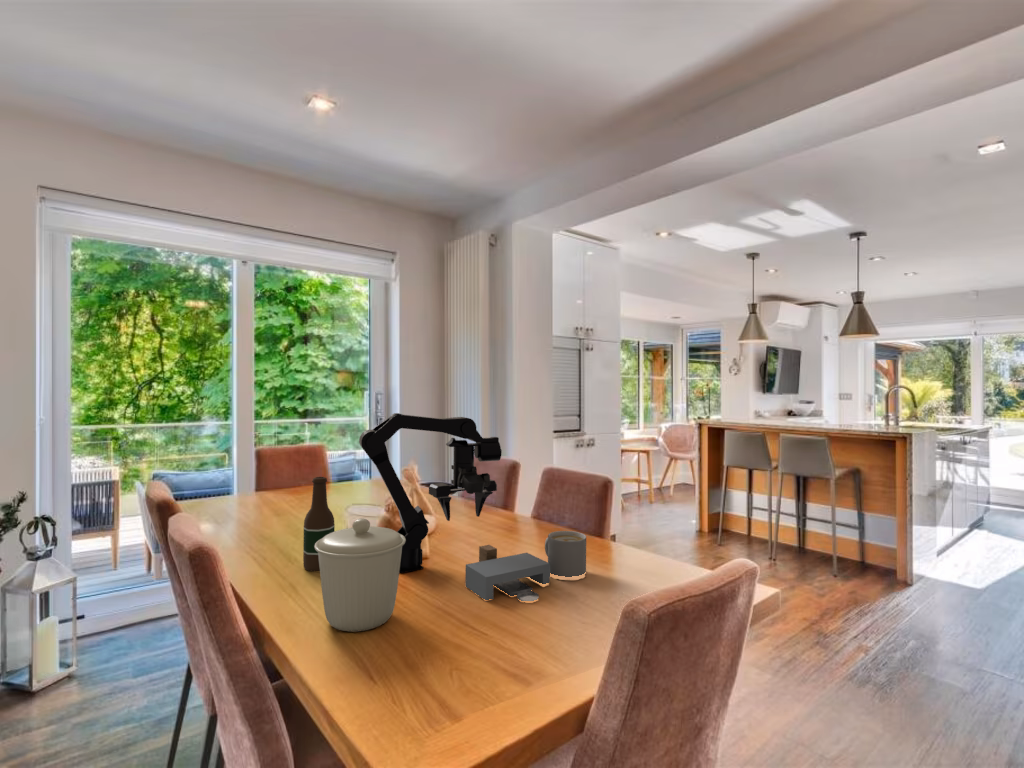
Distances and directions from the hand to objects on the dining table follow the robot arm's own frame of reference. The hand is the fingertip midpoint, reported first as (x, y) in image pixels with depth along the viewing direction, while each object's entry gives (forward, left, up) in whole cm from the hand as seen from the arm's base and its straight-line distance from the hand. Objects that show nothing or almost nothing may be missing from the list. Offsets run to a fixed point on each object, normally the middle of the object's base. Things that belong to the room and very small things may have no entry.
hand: (463, 518), depth 146 cm
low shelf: (+1, -22, -12) cm, 25 cm away
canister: (-35, -22, -12) cm, 43 cm away
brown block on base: (+1, -19, -12) cm, 23 cm away
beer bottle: (-35, +16, -12) cm, 40 cm away
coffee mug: (+19, -21, -12) cm, 31 cm away
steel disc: (+1, -31, -12) cm, 33 cm away
